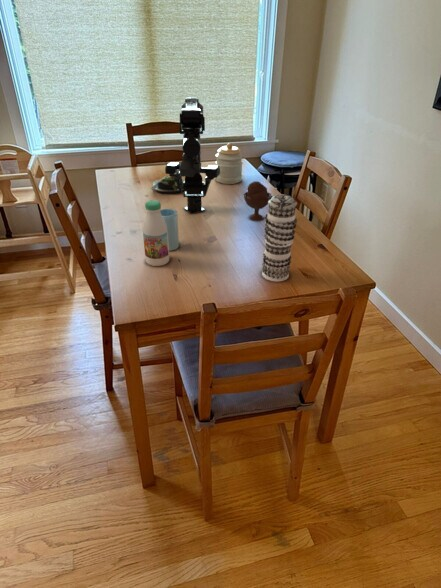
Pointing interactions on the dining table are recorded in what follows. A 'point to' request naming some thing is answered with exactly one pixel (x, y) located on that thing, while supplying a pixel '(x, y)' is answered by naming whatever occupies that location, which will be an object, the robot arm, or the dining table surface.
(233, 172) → the jar
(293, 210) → the decorative candle
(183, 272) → the dining table surface
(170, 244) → the tumbler
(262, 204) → the ice cream bowl
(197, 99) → the robot arm
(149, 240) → the milk bottle
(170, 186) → the salad plate
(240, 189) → the dining table surface
